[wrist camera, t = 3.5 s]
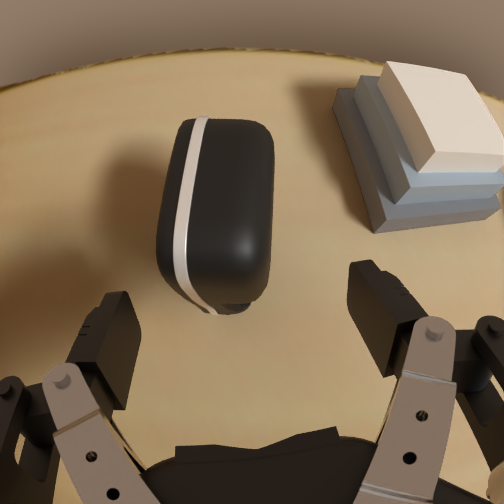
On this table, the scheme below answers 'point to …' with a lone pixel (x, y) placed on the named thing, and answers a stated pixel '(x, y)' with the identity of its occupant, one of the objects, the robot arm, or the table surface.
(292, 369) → the table surface
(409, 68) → the block tower
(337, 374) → the table surface
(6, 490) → the robot arm
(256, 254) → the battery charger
